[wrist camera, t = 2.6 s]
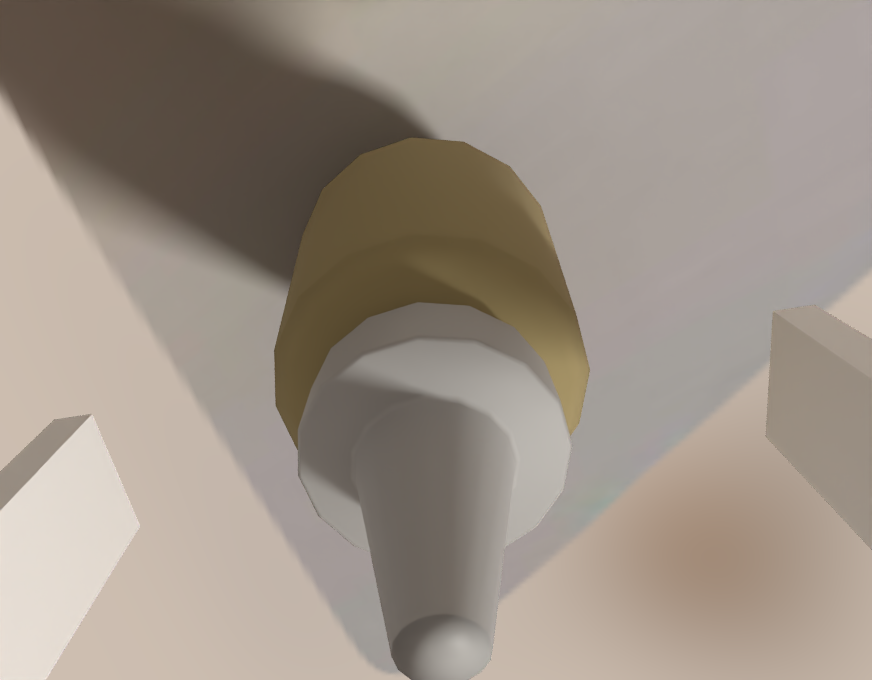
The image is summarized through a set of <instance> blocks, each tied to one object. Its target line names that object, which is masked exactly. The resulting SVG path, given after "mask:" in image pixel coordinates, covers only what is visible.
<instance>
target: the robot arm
mask: <svg viewBox="0 0 872 680" xmlns="http://www.w3.org/2000/svg"><path fill="white" fill-rule="evenodd" d="M767 405H768V406H767V421H766V437H767V438H768V440H769V441H770V442H771V443H772V444H773V445H774V446H775V447H776V448H777V449H778V450H779V451H780V452H781V453H782V455H783V456H784V457H785V458H786V459H787V460H788V461H789V462H790V463H791V464H792V465H793V466H794V467H795V468H796V469H797V471H798V472H799V473H800V474H801V475H802V476H803V477H804V478H805V479H806V480H807V481H808V482H809V483H810V484H811V485H812V486H813V488H814V489H815V490H816V491H817V492H818V493H819V494H820V495H821V496H822V497H823V498H824V499H825V500H826V502H827V503H828V504H829V505H830V506H831V507H832V508H833V509H834V510H835V511H836V512H837V513H838V514H839V515H840V517H841V518H843V520H844V521H845V522H846V523H847V524H848V525H849V526H850V527H851V528H852V529H853V530H854V531H855V533H857V535H858V536H859V537H860V538H861V539H862V540H863V541H864V542H865V543H866V544H867V545H868V546H869V547H870V549H871V550H872V339H871V338H869V337H867V336H866V335H864V334H862V333H861V332H859V331H857V330H856V329H854V328H852V327H851V326H849V325H847V324H846V323H844V322H842V321H841V320H839V319H837V318H836V317H834V316H832V315H831V314H829V313H827V312H826V311H824V310H822V309H821V308H819V307H817V306H816V305H810V306H803V307H797V308H790V309H784V310H777V311H773V320H772V337H771V354H770V370H769V387H768V404H767ZM139 527H140V525H139V523H138V520H137V518H136V515H135V513H134V511H133V509H132V506H131V504H130V502H129V499H128V497H127V495H126V492H125V490H124V487H123V485H122V483H121V480H120V478H119V476H118V473H117V471H116V468H115V466H114V464H113V461H112V459H111V457H110V455H109V452H108V450H107V447H106V445H105V443H104V440H103V438H102V436H101V433H100V431H99V429H98V427H97V424H96V422H95V420H94V417H93V415H92V414H88V415H82V416H76V417H69V418H62V419H56V420H53V421H52V423H50V424H49V425H48V426H47V427H46V428H45V429H44V430H43V431H42V432H41V433H40V434H39V435H38V436H37V437H36V438H35V439H34V440H33V441H32V442H30V443H29V444H28V445H27V446H26V447H25V448H24V449H23V450H22V451H21V452H20V453H19V454H18V455H17V456H16V457H15V458H14V459H13V460H12V461H11V462H10V463H9V464H8V465H7V466H6V467H4V468H3V469H2V470H1V471H0V680H46V679H47V677H48V675H49V674H50V672H51V671H52V669H53V667H54V666H55V664H56V662H57V661H58V659H59V657H60V656H61V654H62V653H63V651H64V649H65V648H66V646H67V644H68V643H69V641H70V640H71V638H72V636H73V635H74V633H75V631H76V630H77V628H78V626H79V625H80V623H81V622H82V620H83V618H84V617H85V615H86V613H87V612H88V610H89V609H90V607H91V605H92V604H93V602H94V600H95V599H96V597H97V595H98V594H99V592H100V591H101V589H102V587H103V586H104V584H105V582H106V581H107V579H108V578H109V576H110V574H111V573H112V571H113V569H114V568H115V566H116V564H117V563H118V561H119V560H120V558H121V556H122V555H123V553H124V551H125V550H126V548H127V547H128V545H129V543H130V542H131V540H132V538H133V537H134V535H135V533H136V532H137V530H138V529H139Z"/></svg>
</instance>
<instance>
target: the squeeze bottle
mask: <svg viewBox="0 0 872 680" xmlns="http://www.w3.org/2000/svg"><path fill="white" fill-rule="evenodd" d="M274 358H275V398H276V407H277V409H278V411H279V413H280V415H281V417H282V419H283V421H284V423H285V426H286V428H287V430H288V432H289V434H290V436H291V438H292V440H293V442H294V444H295V446H296V448H297V450H298V476H299V478H300V480H301V482H302V484H303V486H304V488H305V490H306V492H307V494H308V496H309V498H310V500H311V502H312V504H313V506H314V508H315V510H316V512H317V514H318V516H319V517H320V518H321V519H323V520H324V521H325V522H326V523H327V524H329V525H330V526H331V527H332V528H333V529H334V530H336V531H337V532H338V533H339V534H340V535H342V536H343V537H344V538H345V539H346V540H347V541H349V542H350V543H351V544H352V545H353V546H355V547H357V548H360V549H363V550H365V551H368V552H370V553H371V558H372V563H373V568H374V573H375V578H376V583H377V588H378V593H379V597H380V602H381V607H382V612H383V617H384V622H385V627H386V632H387V637H388V641H389V646H390V651H391V656H392V658H393V660H394V662H395V664H396V666H397V668H398V670H399V671H401V672H402V673H403V674H404V675H406V676H407V677H409V678H410V679H411V680H470V679H471V678H473V677H474V676H476V675H477V674H479V673H481V672H482V671H483V669H484V668H485V667H486V666H487V664H488V663H489V662H490V660H491V655H492V649H493V642H494V633H495V625H496V617H497V609H498V600H499V592H500V584H501V576H502V567H503V559H504V551H505V547H507V546H508V545H510V544H511V543H513V542H514V541H516V540H517V539H519V538H520V537H522V536H523V535H525V534H526V533H528V532H529V531H531V530H532V529H534V528H536V527H537V526H538V524H539V523H540V522H541V520H542V519H543V517H544V516H545V515H546V513H547V512H548V511H549V509H550V508H551V506H552V505H553V504H554V502H555V501H556V499H557V498H558V497H559V495H560V494H561V492H562V491H563V490H564V486H565V481H566V476H567V471H568V466H569V461H570V456H571V451H572V446H573V444H572V441H571V437H570V436H571V434H572V433H573V431H574V430H575V428H576V427H577V425H578V424H579V421H580V417H581V412H582V407H583V402H584V397H585V392H586V387H587V382H588V377H589V372H590V368H589V364H588V360H587V356H586V352H585V348H584V344H583V340H582V336H581V332H580V328H579V324H578V320H577V316H576V313H575V310H574V306H573V303H572V300H571V297H570V294H569V291H568V288H567V285H566V282H565V279H564V276H563V273H562V270H561V267H560V263H559V260H558V257H557V254H556V251H555V248H554V245H553V242H552V239H551V236H550V233H549V230H548V227H547V224H546V220H545V217H544V214H543V211H542V208H541V206H540V204H539V203H538V202H537V201H536V199H535V198H534V197H533V196H532V194H531V193H530V192H529V190H528V189H527V188H526V187H525V185H524V184H523V183H522V181H521V180H520V179H519V178H518V176H517V175H516V174H515V173H514V171H513V170H512V169H511V167H510V166H508V165H506V164H504V163H502V162H500V161H499V160H497V159H495V158H493V157H491V156H489V155H487V154H486V153H484V152H482V151H480V150H478V149H476V148H474V147H472V146H471V145H469V144H467V143H465V142H460V141H448V140H435V139H423V138H408V139H405V140H402V141H399V142H396V143H393V144H390V145H387V146H384V147H381V148H378V149H375V150H372V151H369V152H367V153H364V154H361V155H359V156H358V157H357V158H356V159H355V160H354V161H353V162H352V163H351V164H350V165H348V166H347V167H346V168H345V169H344V170H343V171H342V172H341V173H340V174H339V175H338V176H336V177H335V178H334V179H333V180H332V181H331V182H330V183H329V184H328V185H327V186H326V187H324V188H323V189H322V191H321V194H320V196H319V198H318V201H317V203H316V205H315V207H314V210H313V212H312V214H311V217H310V219H309V221H308V223H307V226H306V228H305V230H304V233H303V235H302V239H301V243H300V247H299V251H298V255H297V259H296V264H295V268H294V272H293V276H292V280H291V284H290V288H289V292H288V296H287V300H286V304H285V309H284V313H283V317H282V321H281V325H280V329H279V333H278V337H277V341H276V345H275V349H274Z"/></svg>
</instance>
